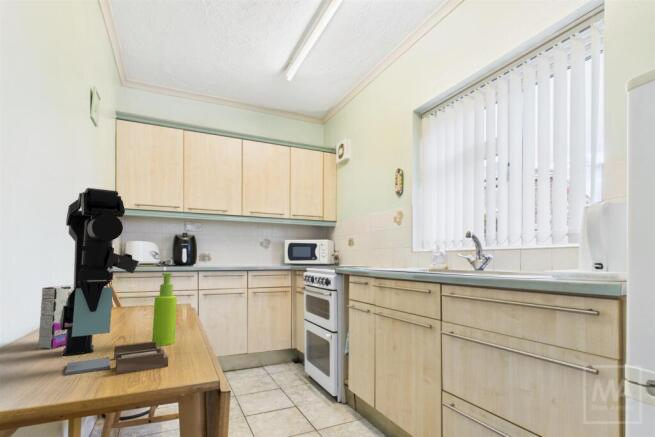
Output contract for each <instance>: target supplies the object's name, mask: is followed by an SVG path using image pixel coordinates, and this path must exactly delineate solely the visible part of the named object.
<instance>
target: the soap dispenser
mask: <svg viewBox="0 0 655 437" xmlns="http://www.w3.org/2000/svg"><path fill="white" fill-rule="evenodd" d="M161 276H163V283H161V284H160V286H159V295H157V296H155V297H154V301H153V302H154V303H153V305H154V306H153V323H152V337H151V338H152V339H151V340H152V341H151V342H153V341H156V345H160V346H161V347H163V346H170V345H174V344H175V342H176V325H177V324H176V322H177V307H178V306H177V302H178V297H177V296H176V295H173V291H174V284H173V283H171V276H172V273H171V272H162V274H161Z"/></svg>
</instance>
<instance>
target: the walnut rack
mask: <svg viewBox="0 0 655 437" xmlns="http://www.w3.org/2000/svg"><path fill="white" fill-rule="evenodd" d="M162 347H163V346H160V345H156V341H153V342H152V341H146V342H138V343H137V342H136V343H128V344H127V343H126V344H120V345H119V344H118V345H114V353H113V354H114V355H113V360H115V366H114V367H115V369H116V375H121V374H128V373H134V372H141V371H147V370H154V369H159V368H166V367H169V356H168V354H167V353H166V352H165V350H164V349H163V348H162ZM153 351H156V352H157V353H154V354H147V355H139V356H132V357H124V358H121V356H122V355H130V354H138V353H145V352H153Z"/></svg>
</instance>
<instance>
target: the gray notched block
mask: <svg viewBox="0 0 655 437" xmlns="http://www.w3.org/2000/svg"><path fill="white" fill-rule="evenodd" d="M154 353H157V352H156V351H153V352H145V353H138V354H130V355H122V356H121V358H124V357H132V356H139V355H147V354H154Z"/></svg>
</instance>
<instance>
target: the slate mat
mask: <svg viewBox="0 0 655 437" xmlns="http://www.w3.org/2000/svg"><path fill="white" fill-rule="evenodd" d="M103 370H104V371H105V370H111V359H110V357H108V356H107V357H101V358H94V359H93V358H92V359H87V360H79V361H78V360H77V361H71V362H67V365H66V369H65V374H64V375H65V376H70V375H78V374H83V373H84V374H85V373H91V372H97V371H99V372H100V371H103Z"/></svg>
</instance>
